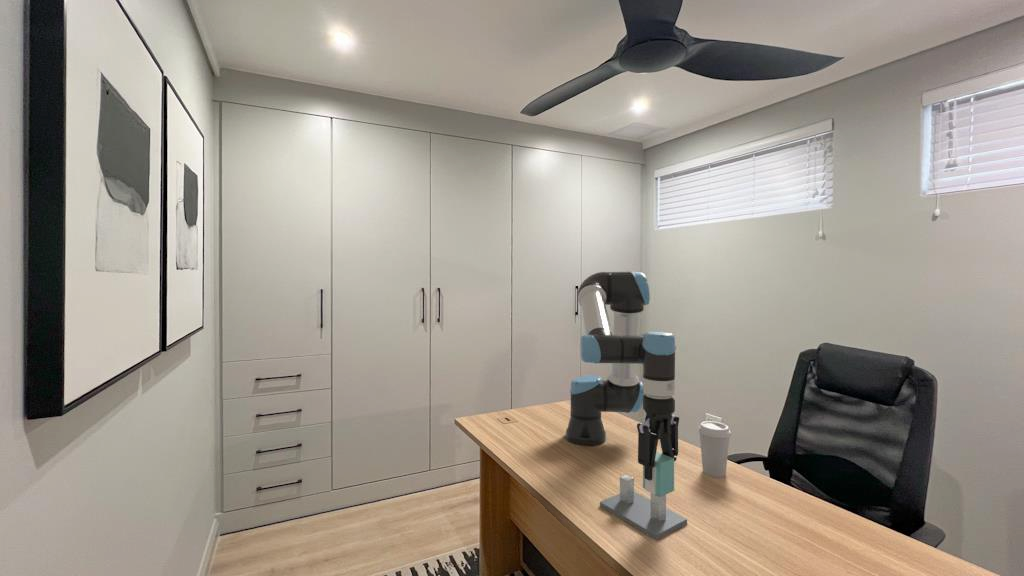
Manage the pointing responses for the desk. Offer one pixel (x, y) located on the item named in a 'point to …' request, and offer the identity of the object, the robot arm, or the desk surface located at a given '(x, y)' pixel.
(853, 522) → the desk surface
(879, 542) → the desk surface
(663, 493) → the tall teal pillar
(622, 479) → the post
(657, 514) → the post
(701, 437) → the coffee cup
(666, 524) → the slate board
